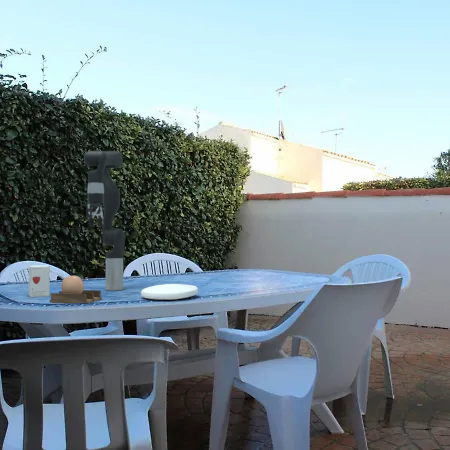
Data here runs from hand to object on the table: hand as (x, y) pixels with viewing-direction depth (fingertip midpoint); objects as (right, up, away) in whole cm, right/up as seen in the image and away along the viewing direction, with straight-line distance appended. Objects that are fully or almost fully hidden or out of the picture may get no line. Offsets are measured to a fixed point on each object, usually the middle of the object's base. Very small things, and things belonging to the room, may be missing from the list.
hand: (95, 226), depth 230 cm
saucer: (-7, -33, -13) cm, 36 cm away
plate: (+35, -34, +1) cm, 49 cm away
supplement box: (-31, -35, +9) cm, 47 cm away
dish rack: (-6, -34, -10) cm, 36 cm away
